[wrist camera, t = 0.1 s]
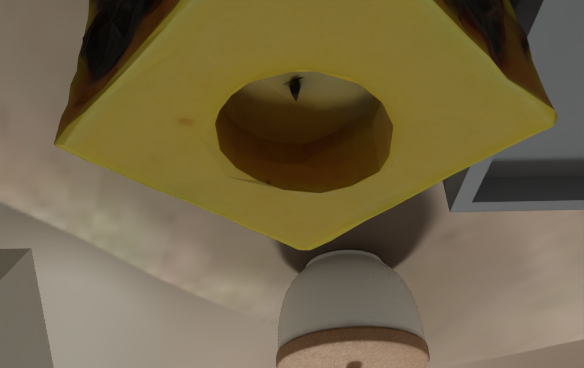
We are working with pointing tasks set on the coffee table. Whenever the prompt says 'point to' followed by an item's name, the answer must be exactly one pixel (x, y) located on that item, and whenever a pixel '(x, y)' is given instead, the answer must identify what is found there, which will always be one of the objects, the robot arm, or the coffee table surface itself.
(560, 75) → the tray
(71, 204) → the coffee table surface
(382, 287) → the lidded jar
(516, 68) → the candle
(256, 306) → the coffee table surface
